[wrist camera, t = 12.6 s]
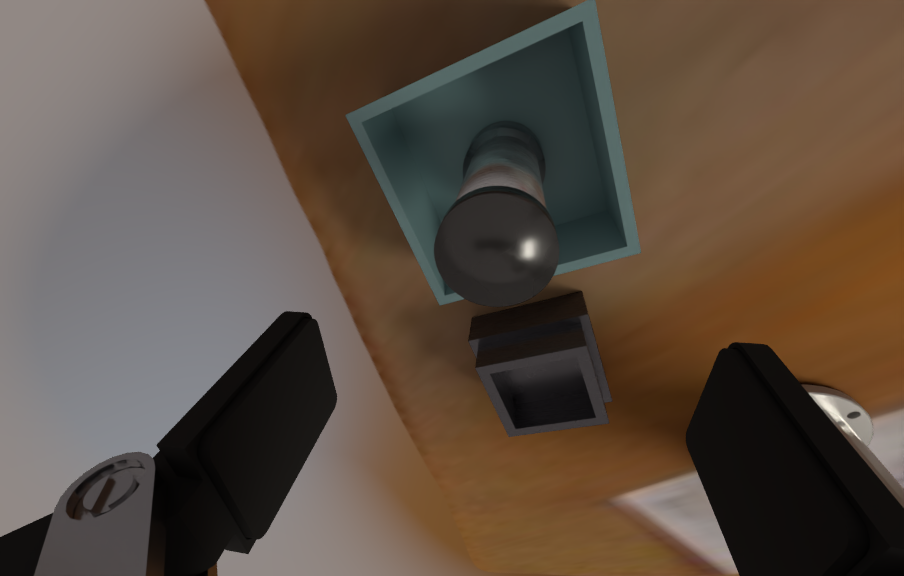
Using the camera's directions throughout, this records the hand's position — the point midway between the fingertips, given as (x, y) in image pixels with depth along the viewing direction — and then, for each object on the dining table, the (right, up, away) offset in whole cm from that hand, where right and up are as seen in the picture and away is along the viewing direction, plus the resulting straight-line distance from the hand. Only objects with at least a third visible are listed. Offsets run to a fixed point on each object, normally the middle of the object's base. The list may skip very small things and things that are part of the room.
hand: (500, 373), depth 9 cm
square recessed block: (+6, -3, +23) cm, 24 cm away
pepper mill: (+2, +10, +15) cm, 18 cm away
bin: (+2, +11, +16) cm, 19 cm away
